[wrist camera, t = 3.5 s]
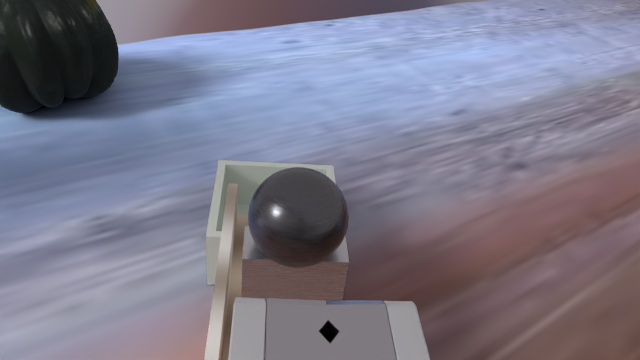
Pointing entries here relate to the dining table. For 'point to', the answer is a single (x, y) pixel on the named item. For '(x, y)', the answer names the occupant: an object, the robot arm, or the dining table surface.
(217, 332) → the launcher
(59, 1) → the squash
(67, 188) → the dining table surface
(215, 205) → the cup
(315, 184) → the plunger
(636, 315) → the dining table surface
